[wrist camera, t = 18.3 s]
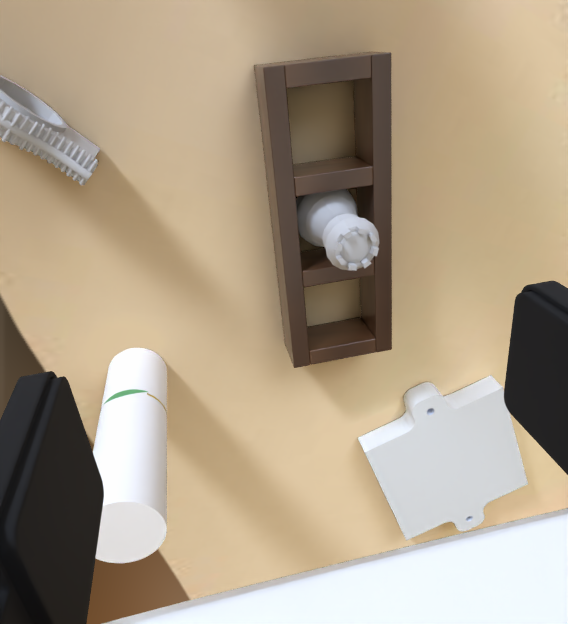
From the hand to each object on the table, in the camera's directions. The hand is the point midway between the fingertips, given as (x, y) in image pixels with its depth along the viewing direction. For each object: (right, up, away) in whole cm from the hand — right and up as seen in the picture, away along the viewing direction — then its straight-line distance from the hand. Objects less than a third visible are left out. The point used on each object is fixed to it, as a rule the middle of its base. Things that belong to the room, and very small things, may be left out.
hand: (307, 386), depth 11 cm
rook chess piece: (+2, +9, +26) cm, 28 cm away
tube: (-11, -3, +29) cm, 31 cm away
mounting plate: (+14, -12, +39) cm, 43 cm away
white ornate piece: (-16, +14, +20) cm, 29 cm away
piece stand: (+2, +8, +26) cm, 28 cm away
